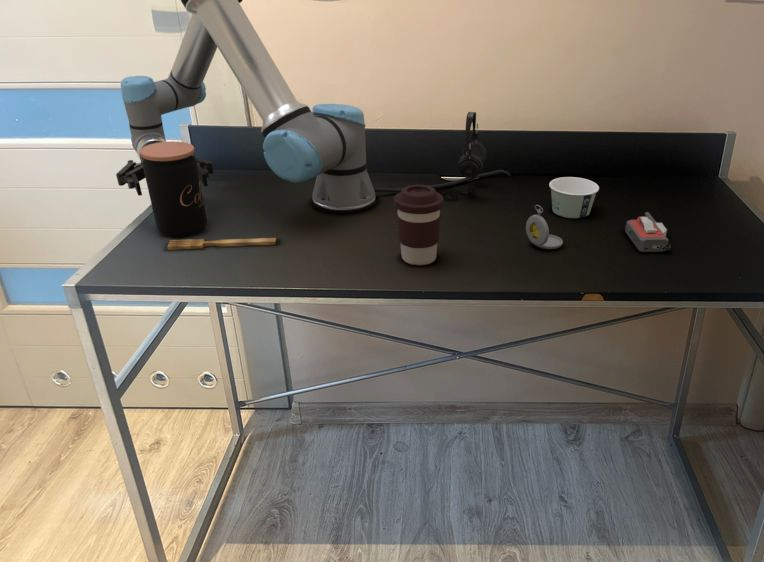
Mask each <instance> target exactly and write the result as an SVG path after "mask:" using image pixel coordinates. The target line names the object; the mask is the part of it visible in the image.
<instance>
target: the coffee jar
mask: <svg viewBox="0 0 764 562" xmlns="http://www.w3.org/2000/svg"><path fill="white" fill-rule="evenodd" d="M140 154H141V156H142V157H143V158H144V160H143V169H144V173H145V178H144V179H145V183H146V186H147V190H148V195H149V200H150V204H151V208H152V212H153V217H154V222H155V227H156V229H158V232H159V233H161V235H163V236H165V237H167V238H168V237H169V238H174V239H175V238H176V239H177V238H178V239H179V238H180V239H181V238H188V237H189V238H190V237H192V236H196V235H199V234H201V233H202V232H204V230H205V229H206V227H207V226H208V216H207V210H206V205H205V199H204V194H203V188H202V182H201V181H200V177H199V171H198V166H197V160H196V158H195V157H196V156H195V155H194V154H195V146H193V144H191V143H189V142H184V141H172V140H171V141H166V142H159V143H154V144H150V145H147V146H145V147H143V148H142V149H141V150H140Z"/></svg>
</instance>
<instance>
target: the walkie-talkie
mask: <svg viewBox="0 0 764 562" xmlns="http://www.w3.org/2000/svg"><path fill="white" fill-rule="evenodd" d="M624 232H625V233H626V234H627V237H629V239H630V241H631V243H633V244H634V246H635V247H636V249H637V250H638V252H641V253H664V252H667V251H670V250H671V249H672V246H671V244H670V243H669V241H670V240H669V238H668V237H667V233H668V229H667V228H666V227H665V225H664V224H663V222H657V220H655V218H654V217H653V216H652V215H651V213H650V212H649V211H646V212H645V213H644V216H637V218H636V219H629V220H627V221H626V222H625V229H624ZM667 246H668V247H667ZM657 247H659V248H657ZM645 248H648V249H645ZM663 248H664V249H663Z"/></svg>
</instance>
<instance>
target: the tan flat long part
mask: <svg viewBox="0 0 764 562" xmlns="http://www.w3.org/2000/svg"><path fill="white" fill-rule="evenodd" d="M270 245H273V246H275V245H277V237H261V238H260V237H259V238H235V239H234V238H233V239H218V240H205V239H204V238H199V239H198V238H197V239H191V238H190V239H170V240H169V242H168V244H167V246H166V247H167V250H168V251H174V250H175V251H176V250H177V251H178V250H199V249H201V250H202V249H203V248H204V247H218V248H219V247H220V248H221V247H244V246H245V247H247V246H249V247H250V246H270Z"/></svg>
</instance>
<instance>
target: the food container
mask: <svg viewBox="0 0 764 562" xmlns="http://www.w3.org/2000/svg"><path fill="white" fill-rule="evenodd" d="M548 185H549V186H548V187H549V188H550V195H551V208H552V209H551V210H552V212H553V213H554V214H556V215H557V216H560V217H563V218H568V219H581V218H586V217H587V216H589V215H590V213H591V211H592V208H593V204H594V201H595V198H596V195H597V193H598V192H599V190H600V186H599V185H598V184H597V183H596V182H594V181H592V180H590V179H588V178H583V177H575V176H563V177H556V178H554V179H552V180H551V181H549V184H548Z"/></svg>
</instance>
